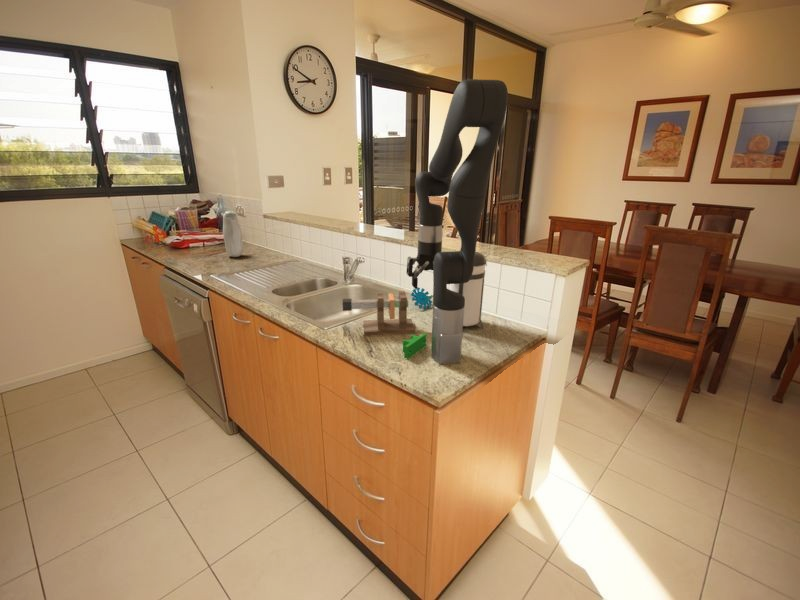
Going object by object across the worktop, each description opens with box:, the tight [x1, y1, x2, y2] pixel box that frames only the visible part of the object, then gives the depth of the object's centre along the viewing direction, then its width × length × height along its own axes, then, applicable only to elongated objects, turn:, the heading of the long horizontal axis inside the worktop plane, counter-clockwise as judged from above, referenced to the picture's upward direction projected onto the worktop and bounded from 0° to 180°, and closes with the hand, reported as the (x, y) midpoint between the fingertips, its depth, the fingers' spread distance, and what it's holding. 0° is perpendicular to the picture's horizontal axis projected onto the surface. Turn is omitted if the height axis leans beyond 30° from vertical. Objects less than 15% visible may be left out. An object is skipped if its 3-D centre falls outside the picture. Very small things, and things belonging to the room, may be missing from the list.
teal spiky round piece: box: [410, 286, 433, 310], centre depth 157 cm, size 11×6×10 cm
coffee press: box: [448, 251, 488, 329], centre depth 134 cm, size 17×16×30 cm
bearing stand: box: [362, 290, 416, 337], centre depth 133 cm, size 10×18×13 cm, turn 97°
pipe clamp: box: [402, 332, 427, 360], centre depth 119 cm, size 11×4×5 cm, turn 145°
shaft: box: [342, 298, 409, 312], centre depth 132 cm, size 3×23×3 cm, turn 96°
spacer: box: [387, 293, 396, 320], centre depth 133 cm, size 7×2×7 cm, turn 7°
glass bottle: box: [222, 210, 244, 258], centre depth 229 cm, size 10×10×28 cm
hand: (427, 287), depth 124 cm, fingers open, 8 cm apart
